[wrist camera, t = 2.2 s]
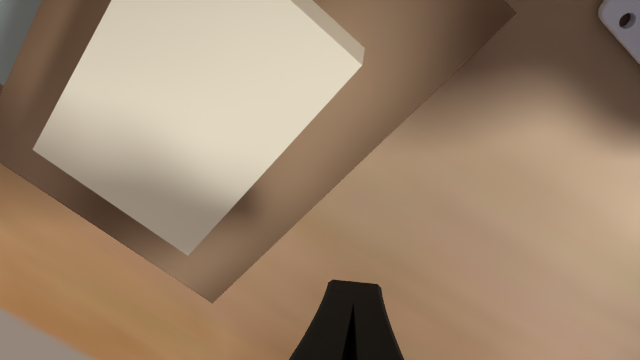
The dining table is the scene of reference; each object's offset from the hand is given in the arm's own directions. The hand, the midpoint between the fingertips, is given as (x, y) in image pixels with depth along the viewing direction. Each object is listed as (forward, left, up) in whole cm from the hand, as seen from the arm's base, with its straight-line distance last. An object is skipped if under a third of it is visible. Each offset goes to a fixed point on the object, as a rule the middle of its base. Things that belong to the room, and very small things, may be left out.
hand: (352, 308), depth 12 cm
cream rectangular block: (+7, 0, -5) cm, 8 cm away
